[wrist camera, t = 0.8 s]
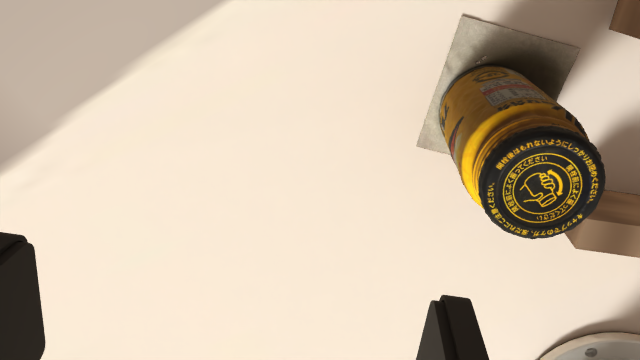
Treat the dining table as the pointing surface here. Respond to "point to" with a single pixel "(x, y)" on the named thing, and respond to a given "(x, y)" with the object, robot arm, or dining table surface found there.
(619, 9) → the u rest
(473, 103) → the condiment
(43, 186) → the dining table surface
